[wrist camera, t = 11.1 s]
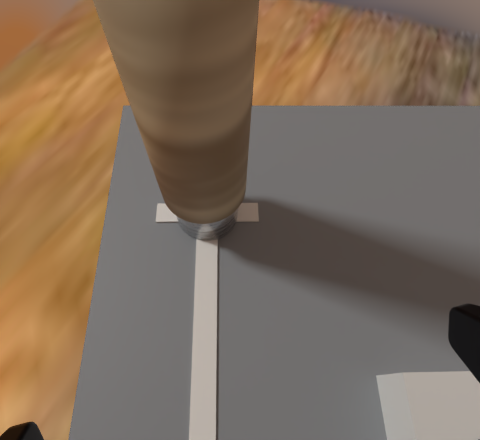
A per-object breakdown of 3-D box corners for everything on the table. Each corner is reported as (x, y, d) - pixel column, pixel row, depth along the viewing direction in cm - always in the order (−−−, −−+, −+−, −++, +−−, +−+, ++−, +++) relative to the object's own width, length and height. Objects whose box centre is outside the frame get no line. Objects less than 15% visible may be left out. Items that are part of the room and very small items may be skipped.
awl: (258, 223, 17) (314, -135, 6) (193, 260, 16) (95, -73, 5) (220, 170, 18) (200, -211, 7) (158, 201, 18) (12, -174, 6)
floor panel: (834, 681, 12) (900, 712, 11) (38, 717, 11) (15, 756, 10) (546, 119, 22) (563, 104, 21) (128, 120, 22) (122, 104, 20)
